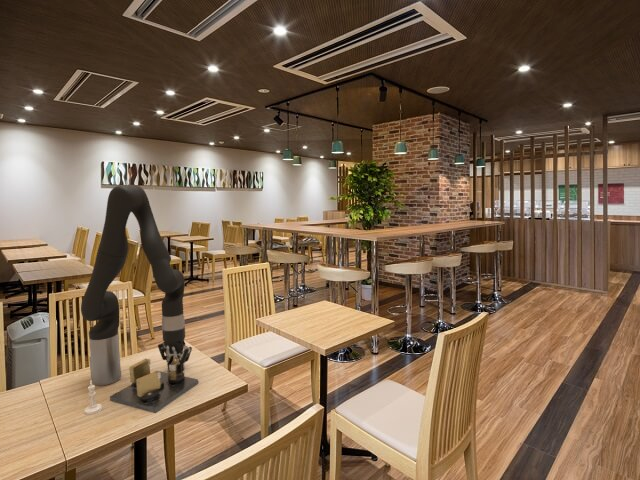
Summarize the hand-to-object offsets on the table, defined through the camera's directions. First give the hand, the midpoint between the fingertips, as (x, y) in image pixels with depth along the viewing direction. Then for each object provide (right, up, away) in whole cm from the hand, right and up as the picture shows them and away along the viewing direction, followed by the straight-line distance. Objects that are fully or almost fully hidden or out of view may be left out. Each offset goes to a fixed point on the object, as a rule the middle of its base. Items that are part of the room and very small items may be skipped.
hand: (176, 372), depth 133 cm
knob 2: (-5, -4, -11) cm, 13 cm away
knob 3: (0, -3, 0) cm, 3 cm away
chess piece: (-21, -7, -15) cm, 26 cm away
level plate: (-5, -5, -4) cm, 9 cm away
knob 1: (-12, -3, -1) cm, 13 cm away
